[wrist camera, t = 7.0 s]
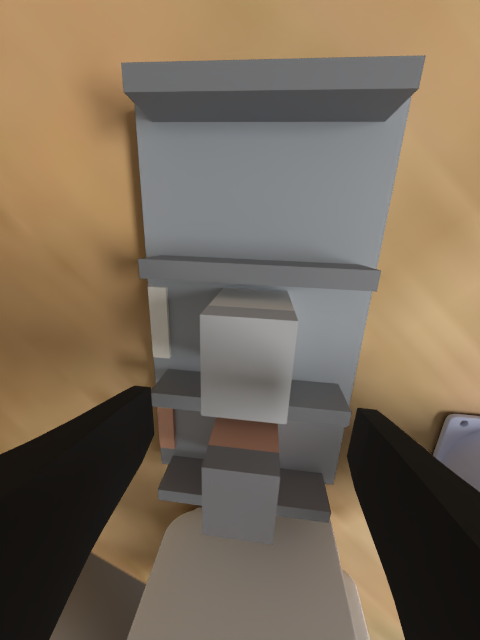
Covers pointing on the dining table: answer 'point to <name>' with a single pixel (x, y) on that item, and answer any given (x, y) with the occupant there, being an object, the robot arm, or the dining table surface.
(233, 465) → the brown and grey box
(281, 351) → the grey rectangular block
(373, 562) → the dining table surface
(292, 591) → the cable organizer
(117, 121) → the dining table surface
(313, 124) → the grey tiered rack
